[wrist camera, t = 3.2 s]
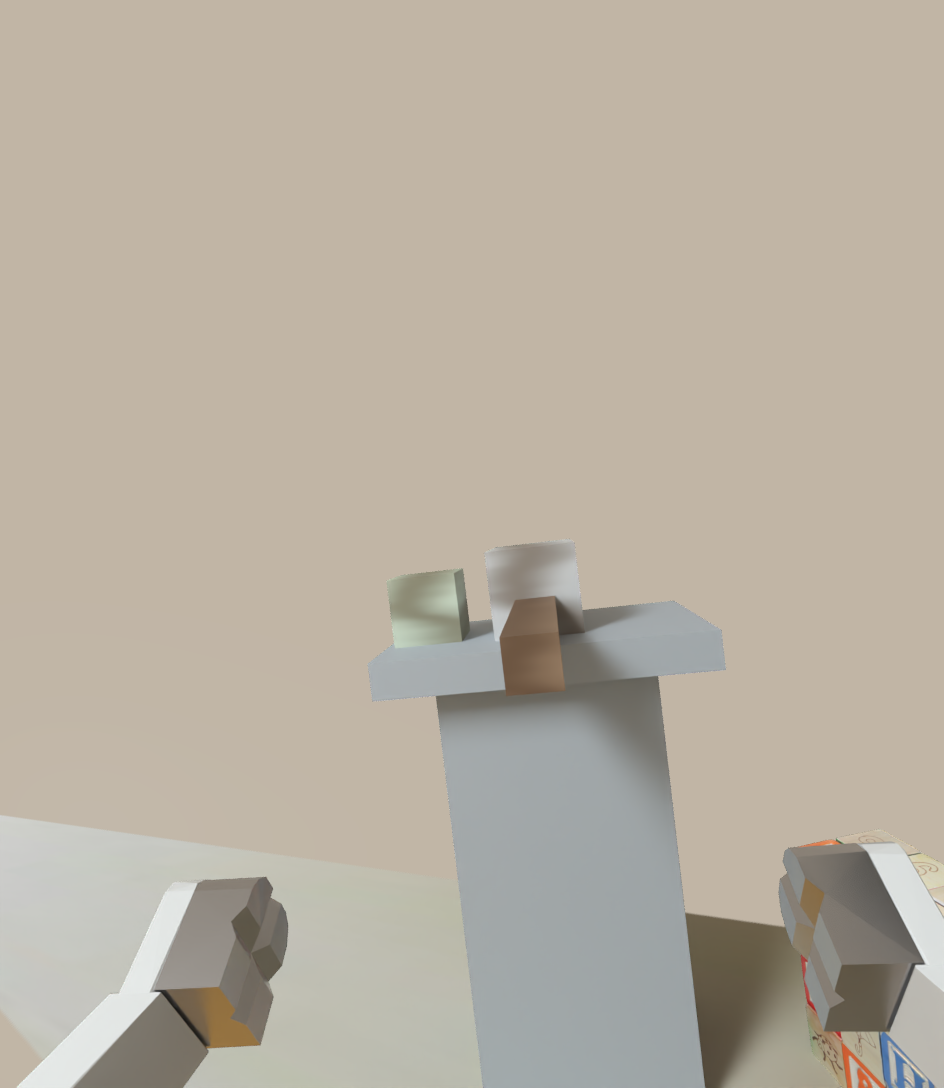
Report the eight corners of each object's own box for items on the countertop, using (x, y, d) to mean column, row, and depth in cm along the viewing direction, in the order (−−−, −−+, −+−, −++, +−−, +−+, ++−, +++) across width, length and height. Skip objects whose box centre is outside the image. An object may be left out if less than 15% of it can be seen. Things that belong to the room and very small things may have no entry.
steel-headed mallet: (578, 612, 44) (569, 538, 43) (603, 687, 24) (587, 552, 24) (504, 620, 44) (495, 547, 44) (469, 699, 24) (453, 567, 24)
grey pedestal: (716, 977, 44) (673, 600, 44) (779, 1145, 32) (721, 629, 32) (457, 986, 46) (414, 627, 46) (426, 1146, 34) (367, 664, 34)
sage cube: (470, 630, 41) (462, 568, 41) (462, 641, 37) (453, 573, 37) (409, 636, 42) (402, 575, 42) (394, 648, 38) (386, 580, 38)
